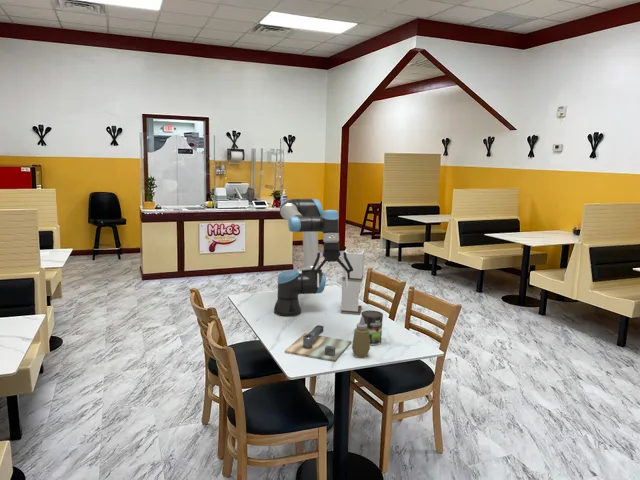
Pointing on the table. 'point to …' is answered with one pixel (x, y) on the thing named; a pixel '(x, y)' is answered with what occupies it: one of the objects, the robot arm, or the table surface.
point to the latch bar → (312, 336)
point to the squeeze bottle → (361, 339)
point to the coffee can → (373, 325)
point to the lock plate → (320, 348)
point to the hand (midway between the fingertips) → (332, 286)
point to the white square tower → (352, 284)
